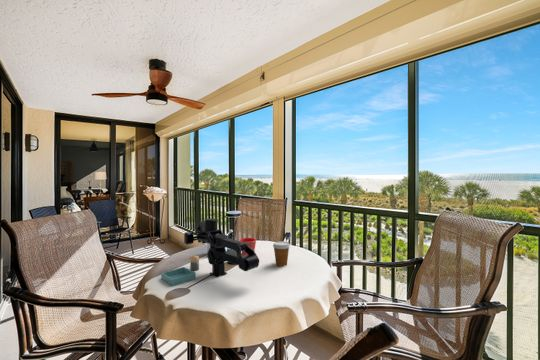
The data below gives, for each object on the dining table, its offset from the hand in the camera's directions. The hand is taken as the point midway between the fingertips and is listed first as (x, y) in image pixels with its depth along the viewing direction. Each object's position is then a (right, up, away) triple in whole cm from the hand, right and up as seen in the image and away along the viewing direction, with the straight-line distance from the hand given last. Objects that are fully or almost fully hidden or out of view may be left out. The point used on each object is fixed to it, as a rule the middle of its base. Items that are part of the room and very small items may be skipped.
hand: (193, 234), depth 145 cm
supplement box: (+9, -17, +16) cm, 25 cm away
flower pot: (+30, -17, +15) cm, 38 cm away
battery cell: (+4, -17, -11) cm, 20 cm away
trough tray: (0, -17, -24) cm, 29 cm away
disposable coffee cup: (+51, -16, -3) cm, 54 cm away
